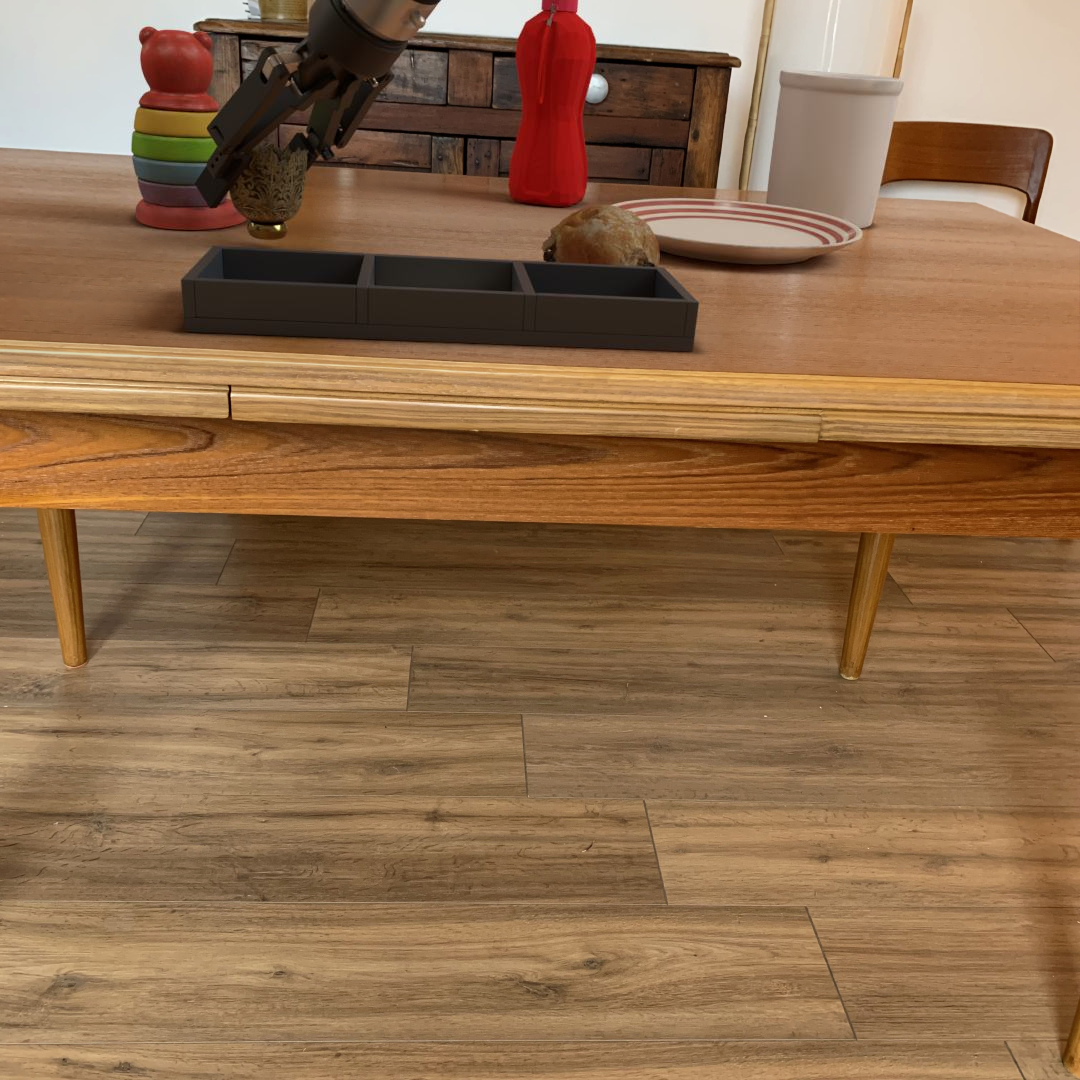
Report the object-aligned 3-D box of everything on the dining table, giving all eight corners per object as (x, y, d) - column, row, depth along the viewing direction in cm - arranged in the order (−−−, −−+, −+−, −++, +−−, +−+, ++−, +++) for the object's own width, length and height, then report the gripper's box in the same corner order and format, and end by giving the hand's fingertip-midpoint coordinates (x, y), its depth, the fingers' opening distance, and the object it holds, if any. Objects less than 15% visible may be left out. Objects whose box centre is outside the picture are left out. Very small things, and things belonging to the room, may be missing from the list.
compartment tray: (184, 332, 73) (180, 279, 71) (215, 292, 84) (212, 245, 82) (692, 351, 77) (699, 302, 75) (659, 311, 88) (664, 267, 86)
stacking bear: (251, 217, 115) (242, 31, 108) (233, 233, 106) (222, 32, 99) (146, 211, 114) (130, 24, 107) (118, 227, 105) (99, 23, 98)
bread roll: (602, 330, 95) (647, 251, 91) (514, 263, 97) (553, 183, 93) (648, 310, 103) (691, 237, 99) (565, 249, 105) (604, 175, 101)
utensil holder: (876, 234, 133) (906, 79, 126) (754, 221, 136) (776, 69, 129) (876, 219, 146) (903, 77, 139) (764, 207, 149) (785, 68, 142)
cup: (288, 229, 105) (286, 142, 102) (322, 243, 100) (322, 151, 97) (213, 232, 101) (209, 140, 98) (245, 246, 96) (241, 150, 93)
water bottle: (495, 203, 136) (506, -22, 126) (524, 194, 146) (536, -15, 135) (566, 211, 134) (583, -17, 123) (591, 201, 143) (608, -11, 133)
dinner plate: (829, 287, 101) (835, 251, 100) (559, 248, 111) (561, 214, 109) (876, 248, 124) (882, 217, 122) (649, 218, 134) (652, 189, 132)
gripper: (303, 41, 78) (171, 237, 93) (475, 51, 94) (339, 217, 109) (249, -44, 79) (126, 164, 93) (430, -20, 94) (299, 155, 109)
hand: (240, 192), depth 101 cm, fingers closed on cup, 7 cm apart
